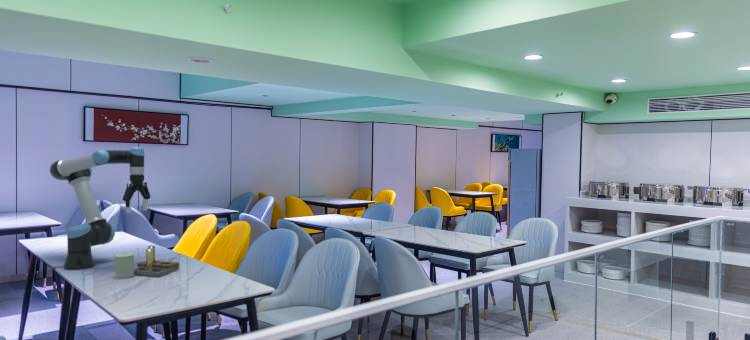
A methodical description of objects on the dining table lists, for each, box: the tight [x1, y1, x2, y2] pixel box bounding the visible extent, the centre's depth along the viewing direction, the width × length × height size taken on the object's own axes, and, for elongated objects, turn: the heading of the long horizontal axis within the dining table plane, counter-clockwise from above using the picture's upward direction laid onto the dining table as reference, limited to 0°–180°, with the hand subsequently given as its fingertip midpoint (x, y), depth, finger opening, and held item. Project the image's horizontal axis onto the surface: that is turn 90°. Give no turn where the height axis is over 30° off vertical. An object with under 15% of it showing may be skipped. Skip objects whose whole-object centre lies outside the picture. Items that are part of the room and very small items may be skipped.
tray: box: [134, 266, 170, 278], centre depth 283 cm, size 18×9×2 cm, turn 76°
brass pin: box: [145, 248, 153, 272], centre depth 283 cm, size 4×4×13 cm
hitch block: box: [137, 260, 180, 274], centre depth 293 cm, size 20×9×4 cm, turn 76°
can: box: [114, 252, 136, 279], centre depth 277 cm, size 9×9×12 cm
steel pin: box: [147, 245, 156, 263], centre depth 294 cm, size 4×4×13 cm
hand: (137, 211), depth 299 cm, fingers open, 13 cm apart
